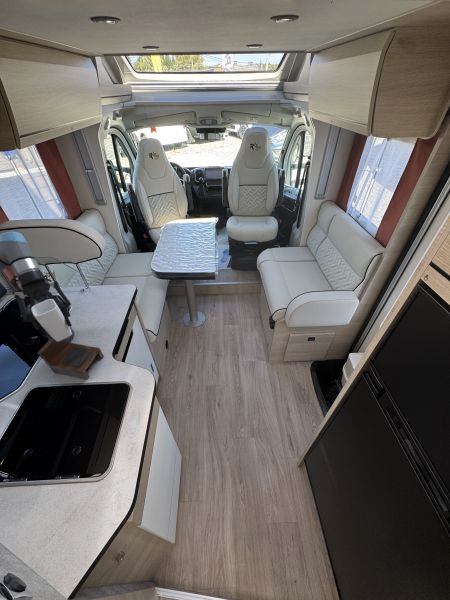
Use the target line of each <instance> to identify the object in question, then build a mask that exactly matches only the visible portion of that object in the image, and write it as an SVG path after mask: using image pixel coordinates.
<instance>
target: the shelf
mask: <svg viewBox="0 0 450 600" xmlns="http://www.w3.org/2000/svg"><path fill="white" fill-rule="evenodd" d="M37 354H38V356H39V357H40V358H41V360H43V361H44V363H45V364H46V365H47V366H48V367H49V369H50V370H51V371H52V372H53V373H54V374H57V375H63V376H67V377H71V378H76V379H81V380H86V381H88V380H89V378H90V375H89V373H88V372H87V369H88V368H89V366H90V365H91V364H92V363H93V361H94V360H95V359H99V360H103V358H104V357H105V355H104V354H103V352H102V350H101V348H100V347H97V346H92V345H91V346H90V345H87V344H86V345H85V344H79V343H74V342H71V341H70V342H69V340H68V339H67V338H65V339H63V340H61V341H56V340H54V339H53V338H51V339H50V340H49V339H48V341H47V342H46V343H45V344H44V345H43V346H42V347H41V348H40V349H39V350H38V351H37Z"/></svg>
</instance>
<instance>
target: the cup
mask: <svg viewBox="0 0 450 600" xmlns="http://www.w3.org/2000/svg"><path fill="white" fill-rule="evenodd" d="M57 305H58V304H56V303H55V301H54V300H53V299H48V300H46V301H43V302H41V303H38V304H36V305H34V306H33V307H32V308H31V311H32V313H33V315H34V317H35V318H36V319H37V321H38V322H39V323H40V324H41V326H42V327H43V328H44V329H45V330H46V332H47V333H48V334H49V335H50V336H51V337H52V338H53V339H54V340H56V341H61V340H63V339H65V338H67V337H69V336H71V334H72V332H71V329H70V327H69V326H68V324H67V322H66V320H65V318H64V316H63V314H62V312H61V308H60V306H59V305H58V306H59V307H58V306H57Z"/></svg>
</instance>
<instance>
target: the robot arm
mask: <svg viewBox="0 0 450 600" xmlns="http://www.w3.org/2000/svg"><path fill="white" fill-rule="evenodd" d="M10 267H11V269H12V271H13V273H14V275H15V276H16V277H17V281H18V283H19V285H20V286H21V288H22V289H21V290H22V291H21V292H20V293H19V294H14V296H13V297H14V299H15V300H16V301H17V303H18V306H19V307H18V308H19V310H20V314H21V317H22V321H23V322H25V323H30V322H31V323H32V325H33V327H34V329H35V330H39V331H40V333H41V335H42V337H44V338H47V334H46V332H45V330H44V328H43V327H42V326H41V324H40V323H39V322H38V321H37V319H36V318H35V317H34V315H33V313H32V311H31V308H32V307H33V306H34V305H36V303H37V301H38V300H39V299H40V298H41V297H45V296H48V297H49V298H51V299H53V300H54V301H55V303H57V305H58V306H59V308H61V309H60V311H61V312H62V314H63V316H64V318H65V320H66V322H67V324H68V326H71V327H73V324H72V322H71V320H70V319H69V318H71V313H70V311H69V309H68V308H69V307H70V306H71V305H72V303H71V302H70V300H69V299H68V297H67V296H66V294H65V293H64V292H63V290H62V289H61V287H60V284H59V282H58V281H56V280H55V281H53V282H48V280H47V278H46V277H45V275H44V273H43V272H42V271H41V267H40V265H39V263H38V261H37V259H36V257H35V256H34V253H33V252H32V250H31V247H30V245H29V243H28V241H27V240H26V238H25V237H24V235H23V233H21V232H18V231H6V232H2V233H0V276H1V275H2V273H3V272H4V271H5V270H6V269H8V268H10ZM51 287H52V288H53V289H55V291H56V292H57V293H58V295H59V296H60V298H61V299H62V300H63V302H64V303H63V302H61V301H60V300H59V299H57V297H55V296H54V295H53V294H52V295H51V294H50V293H49V292H50V288H51ZM25 296H27V297H29V301H30V302H29V304H30V314H29V313H28V311H27V306H26V302H25Z"/></svg>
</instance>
